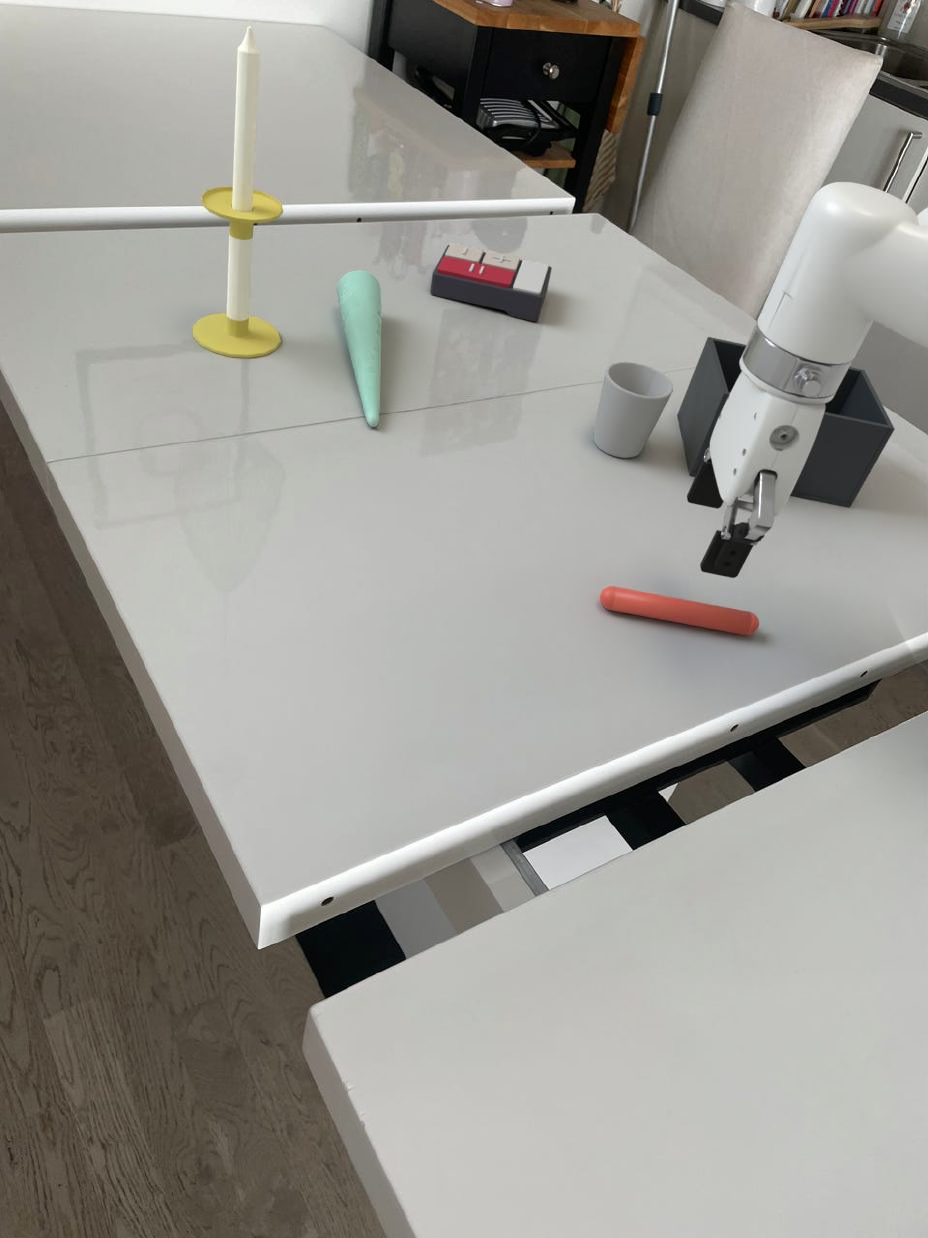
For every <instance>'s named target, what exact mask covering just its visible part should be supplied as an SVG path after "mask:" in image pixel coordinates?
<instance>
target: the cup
mask: <svg viewBox="0 0 928 1238" xmlns="http://www.w3.org/2000/svg"><path fill="white" fill-rule="evenodd" d="M673 392H674V387H673V384H672V381H671V380H670V379H669V378H668V377H667V376H666V375H665V374H663V373H662V372H661V371H659V370H657V369H656V368H653V367H651V366H648V365H645V364H643V363H638V362H632V361H617V362H613V363H612V364H610V365H608V367H607V368H606V370H605V373H604V377H603V381H602V388H601V391H600V395H599V396H600V397H599V400H598V407H597V412H596V419H595V425H594V431H593V438H592V439H593V442H594V444H595V446H597V447H598V449H600V450H601V451H602V452H604V453H606V454H607V455H610V456H613V457H615V458H621V459H629V458H634V457H637V456H638V455H640V454H641V452H642V450H643V448H644V447H645V445H646V443H647V441H648V440H649V438H650V436H651V434H652V433H653V431H654V429H655V427H656V426H657V423H658V422H659V420H660V417H661V416H662V413H663V411H664V410H665V408H666V406H667V403H668V402H669V400H670V398H671V396H672V393H673Z"/></svg>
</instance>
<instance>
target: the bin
mask: <svg viewBox="0 0 928 1238" xmlns="http://www.w3.org/2000/svg"><path fill="white" fill-rule="evenodd" d="M746 345H747V344H745V343H739V342H735V341H730V340H726V339H720V338H716V337H711V336H707V338H706V341H705V343H704V345H703V347H702V351H701V353H700V356H699V358H698V361H697V364H696V366H695V368H694V371H693V373H692V376H691V379H690V381H689V384H688V386H687V389H686V392H685V394H684V397H683V399H682V402H681V403H680V404H681V405H680V406H679V409H678V413H677V414H676V415H677V421H678V426H679V430H680V435H681V441H682V445H683V449H684V454H685V459H686V463H687V464H686V465H687V469H688V474H689V476H691V477H694V478H695V477H696V474H697V472H698V470H699V468H700V465H701V463H707V464H708V462H705V461H704V454H705V451H706V449H707V448H709V447H710V440H711V436H712V433H713V431H714V428H715V425H716V423H717V420H718V418H719V416H720V414H721V411H722V409H723V407H724V405H725V403H726V401H727V399H728V397H729V395H730V393H731V391H732V389H733V387H734V385H735V383H736V381H737V379H738V377H739V375H740V373H741V372H742V370H741V368H740V364H739V362H740V359H741V357H742V354H743V352H744V350H745V348H746ZM866 372H867V371H866V370H865V369H863V368H857V367H852V366H850V367H849V369H848V371H847V373H846V375H845V376H844V378H843V380H842V382H841V384H840V386H839V388H838V390H837V392H836V394H835V395H834V397H833V399H832V400H831V401H829V402H827V403H825V412H824V415H823V418H822V421H821V424H820V427H819V430H818V433H817V436H816V438H815V441H814V443H813V446H812V448H811V451H810V453H809V455H808V458H807V460H806V462H805V465H804V467H803V469H802V471H801V473H800V475H799V478H798V480H797V482H796V484H795V486H794V488H793V490H792V492H791V494H790V496H791V497H797V498H800V499H807V500H811V501H816V502H822V503H826V504H832V505H835V506H836V505H837V506H840V507H841V506H842V507H846V508H851V507H852V505H853V503H854V502H855V500H856V498H857V496H858V495H859V493H860V491H861V490H862V488H863V486H864V485H865V483H866V481H867V479H868V477H869V475H870V473H871V472H872V470H873V468H874V467H875V465H876V463H877V461H878V460H879V458H880V456H881V454H882V452H883V451H884V449H885V447H886V446H887V444H888V442H889V440H890V439H891V437H892V435H893V433H894V431H895V430H896V428H895V426H894V424H893V423H892V420H891V418H890V417H889V415H888V412H887V411H886V409H885V407H884V406H883V405H884V404H883V403H882V401H881V399H880V398H879V395H878V393H877V392H876V390H875V388H874V386H873V384H872V382H871V379H870V378H869V376H868V373H866ZM790 496H789V497H790Z"/></svg>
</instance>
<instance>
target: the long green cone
mask: <svg viewBox="0 0 928 1238" xmlns="http://www.w3.org/2000/svg"><path fill="white" fill-rule="evenodd" d="M336 294H337V295H336V296H337V300H338V307H339V312H340V317H341V321H342V325H343V330H344V335H345V338H346V343H347V347H348V351H349V355H350V359H351V364H352V368H353V372H354V376H355V381H356V386H357V389H358V394H359V397H360V400H361V401H360V402H361V405H362V409H363V413H364V416H365V419H366V423H367V424H368V425H369V427H370V428H376V427H377V426H378V425H379V422H380V411H381V372H382V371H381V369H382V367H381V366H382V291H381V285H380V283H379V281H378V279H377V278H376V276H375V275H373V274H372V273H370V272H368V271H365V270H361V269H357V270H352V271H349V272H347V273H346V274H344V275H343V276H342V277H341V278H340V279H339V281H338V283H337V287H336Z"/></svg>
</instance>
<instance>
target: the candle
mask: <svg viewBox="0 0 928 1238" xmlns="http://www.w3.org/2000/svg"><path fill="white" fill-rule="evenodd" d="M248 24H249V25H248V26H247V28H246V32H245V36H244V38H243V40H242V42H241V44H240V45H239V46H238V47H237V58H236V85H235V86H236V87H235V113H234V114H235V115H234V118H235V119H234V138H233V139H234V141H233V142H234V143H233V167H232V169H233V170H232V171H233V172H232V186H217V187H213V188H210V189H207V190H205V191H204V192H203V193H202V194H201V195H200V199H201V205H202V206H203V208H205V209H206V210H207V211H208V212H209V213H210V214H213V215H215V216H217V217H219V218H221V219H224V220H228V221H229V235H228V264H227V290H226V291H227V292H226V312H219V313H212V314H209V315H206V316H204V317H201V318H199V319H198V320H197V321H196V323H195V324H194V325H192V337H193V339H194V340H195V341H196V342H197V343H198V344H199V345H200V346H201V347H203V348H204V349H206V350H208V351H210V352H212V353H214V354H218V355H222V356H226V357H230V358H242V359H250V358H257V357H258V358H259V357H265V356H267V355H268V354H271V353H273V352H275V351H276V350H277V349H278V348H279V346H280V344H281V342H282V341H281V337H280V332H279V331H278V330H277V328H275V327H274V326H273V324H271V323H269V322H268V321H265V320H263V319H262V318H259V317H257V316H252V315H250V301H251V283H252V265H253V264H252V263H253V243H254V225H255V224H264V223H271V222H273V221H276V220H278V219H279V218H280V217H281V216H282V215H283V213H284V208H283V204H282V203H281V202H280V201H279V200H278V199H277V198H276V197H274V196H273V195H272V196H271V195H269V194H267V193H266V192H263V191H260V190H257V189H255V187H254V185H255V166H256V165H255V164H256V144H257V124H258V105H259V85H260V65H261V64H260V63H261V51H260V49H259V48H258V46H257V44H256V40H255V37H254V31H253V27H252V26H251V25H252V20H251V19H249V23H248Z"/></svg>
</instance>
